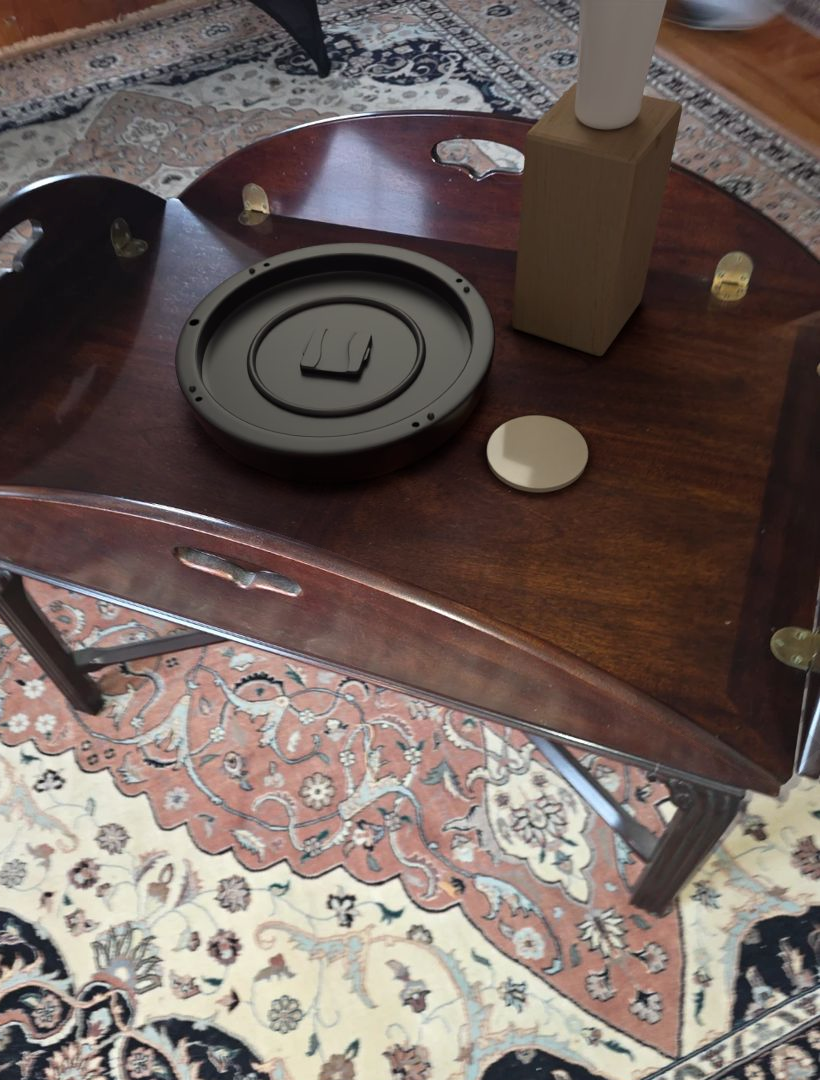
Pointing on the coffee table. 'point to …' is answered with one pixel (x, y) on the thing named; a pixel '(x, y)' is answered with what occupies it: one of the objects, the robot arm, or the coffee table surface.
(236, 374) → the round tray
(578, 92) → the drinking glass
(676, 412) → the coffee table surface
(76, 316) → the coffee table surface
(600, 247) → the wooden block
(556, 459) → the coaster
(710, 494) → the coffee table surface
